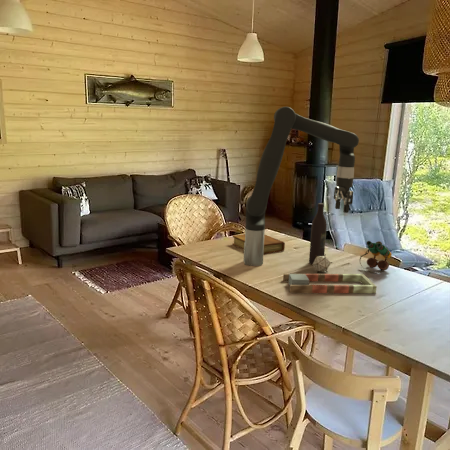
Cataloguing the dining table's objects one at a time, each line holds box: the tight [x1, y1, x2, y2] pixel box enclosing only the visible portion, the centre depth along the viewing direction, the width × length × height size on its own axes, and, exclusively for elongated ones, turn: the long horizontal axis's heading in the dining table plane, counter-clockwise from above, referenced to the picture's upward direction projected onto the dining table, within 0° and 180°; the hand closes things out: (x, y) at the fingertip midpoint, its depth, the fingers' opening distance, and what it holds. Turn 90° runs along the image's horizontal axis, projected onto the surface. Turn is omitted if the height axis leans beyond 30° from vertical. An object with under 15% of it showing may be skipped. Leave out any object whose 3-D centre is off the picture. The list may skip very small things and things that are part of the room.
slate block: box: [288, 273, 310, 286], centre depth 186 cm, size 7×7×4 cm
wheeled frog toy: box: [359, 240, 393, 274], centre depth 209 cm, size 14×14×15 cm
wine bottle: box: [308, 202, 328, 265], centre depth 215 cm, size 7×7×30 cm
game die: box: [310, 253, 333, 274], centre depth 206 cm, size 9×8×10 cm
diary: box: [232, 233, 286, 255], centre depth 243 cm, size 23×19×6 cm
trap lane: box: [282, 273, 378, 294], centre depth 187 cm, size 36×15×3 cm, turn 94°
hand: (341, 210), depth 210 cm, fingers open, 8 cm apart
